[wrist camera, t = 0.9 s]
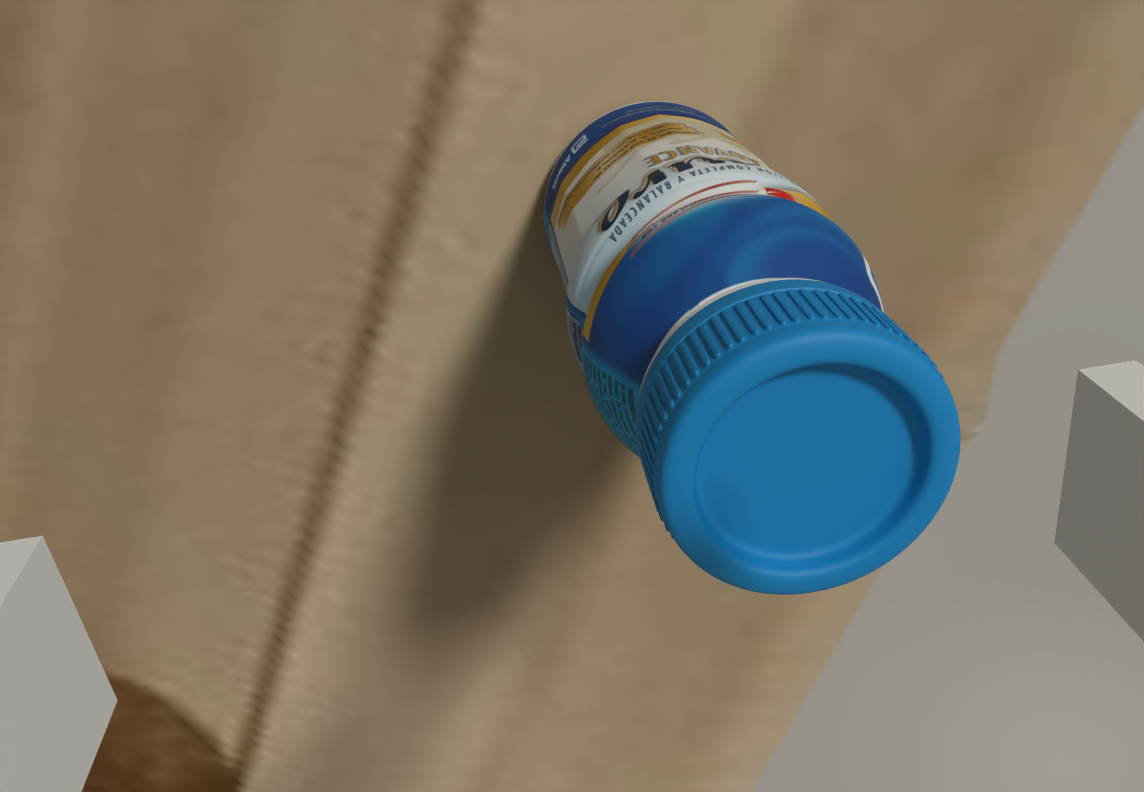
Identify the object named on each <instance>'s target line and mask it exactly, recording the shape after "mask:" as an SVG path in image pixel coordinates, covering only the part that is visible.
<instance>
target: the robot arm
mask: <svg viewBox="0 0 1144 792" xmlns="http://www.w3.org/2000/svg"><path fill="white" fill-rule="evenodd" d="M1066 456H1067V457H1066V463H1065V470H1064V478H1063V485H1062V492H1061V499H1060V506H1059V514H1058V522H1057V528H1056V535H1055V544H1056V545H1057V546H1058V547H1059V548H1060V549H1061V551H1062V552H1063V553H1064V554H1065V555H1066V556H1067V557H1068V558H1069V559H1070V561H1071V562H1072V563H1073V564H1074V565H1075V566H1076V567H1077V568H1078V569H1079V570H1080V572H1082V574H1083V575H1084V576H1085V577H1086V578H1087V579H1088V580H1089V581H1090V583H1091V584H1092V585H1093V586H1094V587H1095V588H1096V589H1097V590H1098V591H1099V593H1100V594H1101V595H1102V596H1103V597H1104V598H1105V599H1106V600H1107V601H1108V602H1109V603H1110V604H1111V606H1113V608H1114V609H1115V610H1116V611H1117V612H1118V614H1120V616H1121V617H1122V618H1123V619H1124V620H1125V621H1126V622H1127V623H1128V625H1129V626H1130V627H1131V628H1132V629H1133V630H1134V631H1135V632H1136V633H1137V634H1138V636H1139V637H1140V638H1141V639H1142V640H1143V641H1144V366H1143V365H1142V364H1140V363H1139V362H1137V361H1136V360H1135V361H1129V362H1124V363H1118V364H1111V365H1105V366H1098V367H1092V368H1085V369H1079V370H1078V376H1077V383H1076V390H1075V398H1074V405H1073V412H1072V419H1071V426H1070V434H1069V441H1068V449H1067V455H1066ZM116 703H117V698H116V696H115V694H114V692H113V690H112V687H111V685H110V683H109V681H108V679H107V676H106V674H105V672H104V670H103V668H102V665H101V663H100V661H99V659H98V657H97V654H96V652H95V650H94V648H93V646H92V643H91V641H90V639H89V637H88V635H87V632H86V630H85V628H84V626H83V624H82V621H81V619H80V617H79V615H78V613H77V610H76V608H75V606H74V604H73V602H72V599H71V597H70V595H69V593H68V591H67V588H66V586H65V584H64V582H63V580H62V577H61V575H60V573H59V571H58V569H57V566H56V564H55V562H54V560H53V558H52V555H51V553H50V551H49V549H48V547H47V544H46V542H45V540H44V538H43V536H39V537H33V538H27V539H20V540H14V541H8V542H2V543H0V792H82V789H83V787H84V784H85V781H86V779H87V776H88V774H89V771H90V769H91V766H92V764H93V761H94V759H95V756H96V754H97V751H98V748H99V746H100V743H101V741H102V738H103V736H104V733H105V731H106V728H107V726H108V723H109V721H110V718H111V715H112V713H113V710H114V708H115V705H116Z"/></svg>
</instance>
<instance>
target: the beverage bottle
mask: <svg viewBox="0 0 1144 792" xmlns="http://www.w3.org/2000/svg"><path fill="white" fill-rule="evenodd" d="M544 224H545V231H546V236H547V240H548V243H549V247H550V250H551V253H552V255H553V258H554V260H555V262H556V264H557V266H558V268H559V270H560V273H561V276H562V280H563V284H564V287H565V291H566V320H567V328H568V333H569V337H570V341H571V345H572V348H573V351H574V354H575V356H576V359H577V361H578V363H579V366H580V368H581V370H582V372H583V374H584V375H585V379H586V383H587V386H588V389H589V392H590V395H591V398H592V400H593V402H594V404H595V406H596V408H597V410H598V412H599V414H600V415H601V417H602V419H603V420H604V422H605V423H606V424H607V426H608V427H609V428H610V430H611V431H612V432H613V433H614V434H615V436H616V437H617V438H618V439H619V440H620V441H621V442H622V443H623V444H624V445H625V446H626V447H627V448H629V449H630V450H631V451H632V452H633V453H634V454H636V455H637V456H638V457H640V458H641V462H642V466H643V469H644V472H645V476H646V479H647V482H648V485H649V488H650V491H651V494H652V497H653V500H654V503H655V506H656V509H657V511H658V513H659V516H660V519H661V521H664V524H665V527H666V530H667V531H668V532H669V531H670V534H671V537H672V539H674V540H675V541H676V543H677V544H678V546H679V547H680V548H681V549H682V551H683V552H684V553H685V554H686V555H687V556H688V557H689V558H690V559H691V560H692V561H693V562H694V563H695V564H696V565H698V566H699V567H700V568H701V569H703V570H704V571H706V572H707V573H709V574H710V575H712V576H714V577H715V578H717V579H719V580H721V581H723V582H725V583H728V584H730V585H733V586H736V587H739V588H742V589H745V590H749V591H754V592H759V593H766V594H781V595H788V594H803V593H811V592H817V591H822V590H826V589H830V588H834V587H837V586H840V585H843V584H846V583H849V582H851V581H854V580H856V579H858V578H860V577H863V576H865V575H867V574H869V573H871V572H872V571H874V570H876V569H878V568H879V567H881V566H883V565H884V564H886V563H887V562H889V561H890V560H892V559H893V558H894V557H896V556H897V555H898V554H900V553H901V552H902V551H903V550H904V549H905V548H906V547H908V546H909V545H910V544H911V543H912V542H913V541H914V540H915V539H916V538H917V537H918V536H919V535H920V534H921V533H922V532H923V530H924V529H925V528H926V527H927V526H928V524H929V523H930V522H931V521H932V519H933V518H934V516H935V515H936V513H937V512H938V510H939V509H940V507H941V505H942V504H943V502H944V500H945V498H946V496H947V494H948V492H949V490H950V487H951V485H952V482H953V479H954V476H955V473H956V468H957V465H958V460H959V453H960V425H959V418H958V414H957V410H956V406H955V403H954V400H953V398H952V395H951V393H950V391H949V389H948V386H947V384H946V383H945V382H944V380H943V375H942V374H941V373H940V372H939V371H938V370H937V366H936V364H934V363H933V362H932V361H931V360H930V359H931V358H930V357H929V356H928V355H927V354H926V353H925V352H924V351H923V350H922V348H921V347H919V346H918V345H917V344H916V343H915V342H914V341H913V340H912V339H911V338H910V337H909V336H908V335H907V334H906V333H905V332H904V331H903V330H902V329H901V328H900V327H899V326H898V325H897V324H896V323H895V322H894V321H893V320H891V319H890V318H889V317H888V316H887V315H886V314H885V313H884V312H883V306H882V301H881V297H880V293H879V290H878V286H877V283H876V281H875V278H874V275H873V273H872V271H871V269H870V267H869V265H868V263H867V261H866V259H865V258H864V256H863V254H862V253H861V251H860V250H859V248H858V247H857V246H856V244H855V243H854V242H853V241H852V240H851V238H850V237H849V236H848V235H847V234H846V233H845V232H844V231H843V230H842V229H841V228H840V227H838V226H837V225H836V224H835V223H834V222H833V221H832V220H831V219H830V217H829V216H828V214H827V213H826V212H825V211H824V209H823V208H822V207H821V206H820V205H819V204H818V203H817V202H816V201H815V200H814V199H813V198H812V197H811V196H810V195H809V194H808V193H807V192H806V191H804V190H803V189H802V188H801V187H799V186H798V185H797V184H795V183H794V182H792V181H791V180H789V179H787V178H786V177H784V176H782V175H780V174H778V173H776V172H774V171H773V170H772V169H770V168H769V167H768V166H767V165H766V164H764V163H763V162H762V161H761V160H760V159H759V158H757V157H756V156H755V155H754V154H753V153H751V152H750V151H749V150H748V149H747V148H746V147H744V146H743V145H742V144H741V143H740V142H739V141H738V140H737V139H736V138H735V137H734V136H733V135H732V134H731V133H730V132H729V131H728V130H727V129H726V128H725V127H724V126H722V125H721V124H720V123H719V122H717V121H716V120H715V119H713V118H712V117H710V116H709V115H707V114H705V113H703V112H701V111H699V110H697V109H695V108H692V107H689V106H686V105H683V104H678V103H673V102H666V101H646V102H639V103H633V104H629V105H625V106H622V107H619V108H617V109H614V110H612V111H609V112H607V113H605V114H603V115H602V116H600V117H598V118H597V119H595V120H594V121H592V122H591V123H589V124H588V125H587V126H586V127H584V128H583V129H582V130H581V131H580V132H579V133H578V134H577V135H576V136H575V137H574V138H573V139H572V140H571V141H570V142H569V144H568V145H567V146H566V148H565V149H564V150H563V152H562V153H561V155H560V157H559V158H558V160H557V162H556V164H555V166H554V168H553V170H552V173H551V175H550V178H549V181H548V185H547V189H546V194H545V201H544Z"/></svg>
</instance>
